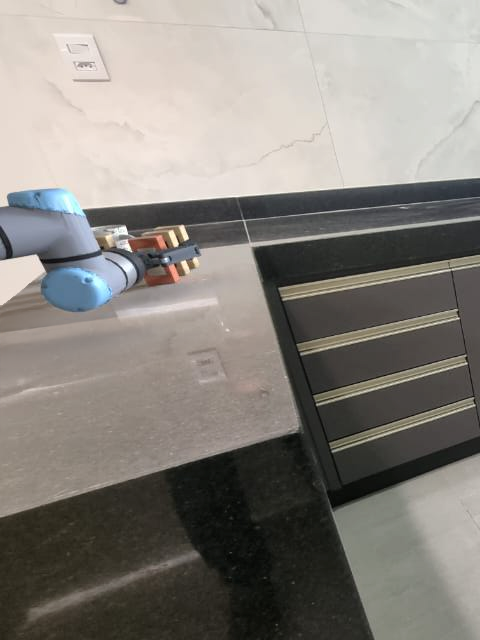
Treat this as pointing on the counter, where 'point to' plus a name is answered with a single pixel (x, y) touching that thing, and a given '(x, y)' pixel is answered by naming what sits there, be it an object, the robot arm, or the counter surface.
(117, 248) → the robot arm
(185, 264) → the wooden picture frame
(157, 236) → the orange picture frame
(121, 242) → the mug
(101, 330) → the counter surface
